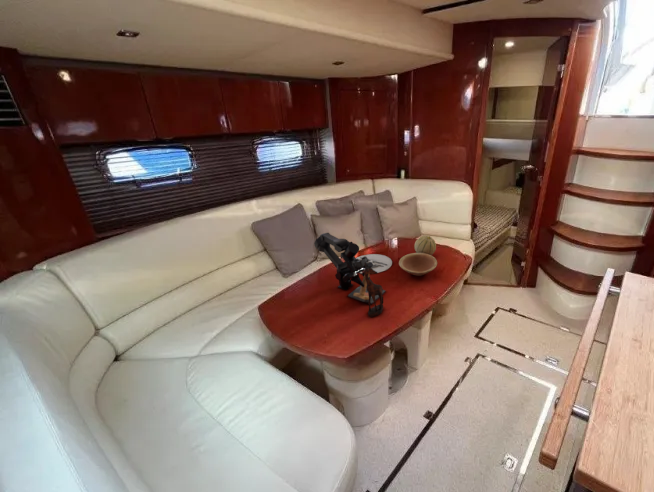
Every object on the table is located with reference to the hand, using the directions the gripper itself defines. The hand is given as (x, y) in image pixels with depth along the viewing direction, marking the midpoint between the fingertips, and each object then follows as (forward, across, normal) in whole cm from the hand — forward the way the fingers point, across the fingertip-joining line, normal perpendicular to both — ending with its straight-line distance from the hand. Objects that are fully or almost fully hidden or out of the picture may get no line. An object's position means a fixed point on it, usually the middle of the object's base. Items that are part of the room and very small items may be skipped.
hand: (367, 284), depth 161 cm
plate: (-14, +32, +25) cm, 43 cm away
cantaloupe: (+2, +63, +8) cm, 63 cm away
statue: (+15, -7, -1) cm, 16 cm away
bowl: (+9, +41, +2) cm, 42 cm away
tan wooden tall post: (+4, -4, +6) cm, 9 cm away
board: (+4, +3, +9) cm, 10 cm away
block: (+5, +1, +7) cm, 8 cm away
